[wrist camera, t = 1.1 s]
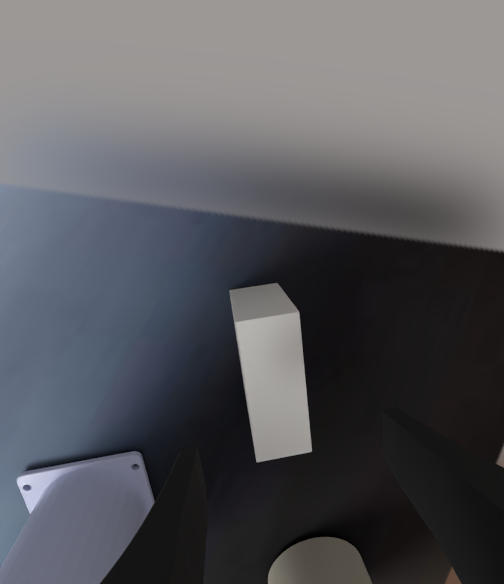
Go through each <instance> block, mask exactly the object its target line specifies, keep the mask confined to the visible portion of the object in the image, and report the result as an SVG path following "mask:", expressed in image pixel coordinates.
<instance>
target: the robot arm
mask: <svg viewBox="0 0 504 584" xmlns="http://www.w3.org/2000/svg"><path fill="white" fill-rule="evenodd" d="M382 446H383V455H384V457H385V459H386V461H387V463H388V465H389V467H390V469H391V471H392V473H393V475H394V476H395V478H396V480H397V482H398V483H399V485H400V486H401V488H402V489H403V491H404V492H405V494H406V495H407V497H408V498H409V500H410V501H411V503H412V504H413V506H414V507H415V509H416V510H417V512H418V513H419V515H420V516H421V518H422V519H423V520H424V522H425V523H426V525H427V526H428V528H429V529H430V531H431V532H432V534H433V535H434V537H435V538H436V540H437V542H438V543H439V545H440V546H441V548H442V550H443V551H444V553H445V555H446V556H447V558H448V560H449V562H450V564H451V565H452V567H453V569H454V571H455V572H456V574H457V576H458V578H459V580H460V581H461V583H462V584H504V468H503V467H501V466H499V465H497V464H495V463H492V462H490V461H488V460H486V459H484V458H482V457H480V456H478V455H476V454H475V453H473V452H471V451H469V450H467V449H465V448H463V447H461V446H460V445H458V444H456V443H454V442H453V441H451V440H449V439H447V438H446V437H444V436H442V435H441V434H439V433H437V432H436V431H434V430H432V429H431V428H429V427H427V426H426V425H424V424H423V423H421V422H419V421H418V420H416V419H415V418H413V417H411V416H410V415H408V414H406V413H405V412H403V411H402V410H400V409H398V408H393V409H387V410H382ZM133 464H137V465H138V466H135V465H133ZM17 484H18V486H19V488H20V491H21V493H22V496H23V498H24V500H25V503H26V505H27V508H28V510H29V512H30V516H29V518H28V520H27V521H26V523H25V525H24V527H23V528H22V530H21V532H20V534H19V535H18V537H17V539H16V541H15V542H14V544H13V546H12V548H11V550H10V551H9V553H8V555H7V557H6V558H5V560H4V562H3V564H2V565H1V567H0V584H203V576H204V562H205V548H206V534H207V519H208V517H207V488H206V484H205V479H204V474H203V470H202V465H201V461H200V456H199V451H198V447H197V446H194V447H189V448H184V449H181V450H180V451H179V452H178V455H177V457H176V460H175V462H174V464H173V467H172V469H171V471H170V473H169V475H168V477H167V479H166V481H165V483H164V485H163V487H162V489H161V491H160V493H159V495H158V497H157V499H156V501H154V497H153V494H152V490H151V486H150V483H149V479H148V475H147V472H146V468H145V464H144V461H143V457H142V455H141V453H139V452H137V451H132V452H126V453H121V454H116V455H110V456H105V457H100V458H94V459H89V460H84V461H78V462H73V463H67V464H62V465H57V466H51V467H46V468H41V469H35V470H30V471H25V472H22V473H21V474H20V475H19V477H18V478H17ZM28 485H30V486H28Z"/></svg>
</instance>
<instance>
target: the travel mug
mask: <svg viewBox="0 0 504 584" xmlns="http://www.w3.org/2000/svg"><path fill="white" fill-rule="evenodd" d="M268 584H372V582H371V580H370V577H369V575H368V572H367V570H366V568H365V565H364V563H363V560H362V558H361V556H360V553H359V552H358V550H357V549H356V548H355V547H354V546H353V545H352V544H350V543H349V542H347V541H345V540H342V539H339V538H334V537H317V538H311V539H308V540H304V541H302V542H299V543H297V544H295V545H293V546H291V547H290V548H288V549H287V550H285V551H284V552H283V553H282V554H281V555H280V556H279V557H278V558H277V559H276V560H275V562H274V563H273V565H272V567H271V569H270V572H269V575H268Z"/></svg>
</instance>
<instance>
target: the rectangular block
mask: <svg viewBox="0 0 504 584" xmlns="http://www.w3.org/2000/svg"><path fill="white" fill-rule="evenodd" d="M229 292H230V298H231V305H232V311H233V318H234V325H235V331H236V338H237V344H238V351H239V357H240V364H241V370H242V377H243V383H244V390H245V397H246V403H247V409H248V415H249V421H250V427H251V432H252V438H253V444H254V450H255V456H256V462H262V461H267V460H272V459H277V458H282V457H287V456H293V455H298V454H303V453H308V452H312V446H311V436H310V425H309V414H308V403H307V392H306V381H305V370H304V359H303V348H302V337H301V326H300V315H299V311H298V310H297V308H296V307H295V306H294V304H293V303H292V302H291V300H290V299H289V298H288V296H287V295H286V294H285V292H284V291H283V290H282V288H281V287H280V286H279V284H278V283H273V284H266V285H260V286H253V287H247V288H240V289H234V290H229Z"/></svg>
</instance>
